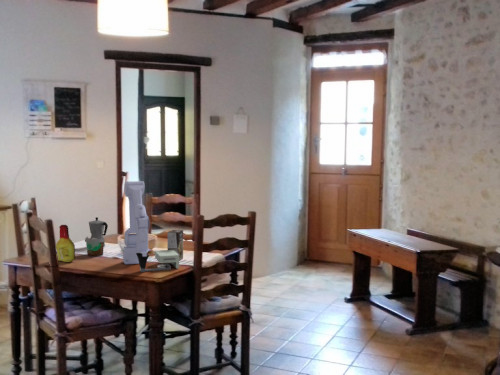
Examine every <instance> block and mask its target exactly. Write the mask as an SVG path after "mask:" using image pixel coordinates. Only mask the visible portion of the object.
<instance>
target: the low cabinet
mask: <svg viewBox="0 0 500 375" xmlns="http://www.w3.org/2000/svg"><path fill="white" fill-rule="evenodd" d="M154 258H155V259H156V261H157V262H158V263H159V264H165V263H170V264H171V266H173V268H175V269H180V261H179V255H178V254H177V253H176V252H175V251H174V250H168V249H163V250H154Z"/></svg>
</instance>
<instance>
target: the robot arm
mask: <svg viewBox="0 0 500 375" xmlns="http://www.w3.org/2000/svg"><path fill="white" fill-rule="evenodd" d="M145 185H146V184H145V182H144V181H143V180H137V181H135V180H134V181H133V180H131V181H130V180H129V181H127V180H125V182H124V196H125V197H126V198H128V206H129V207H128V209H129V210H128V211H129V215H128V216H129V228H128V229H126V230H125V232H124V239H123V240H124V242H123V243H124V245H125V246H123V247H122V248H123V253H122V254H123V255H122V256H123V257H122V261H123V263H124V265H134V264H137V265H139V268H140V267H141V269H144V268H145V267H147V261H148V259H149V257H150V255H149V254H148V252H151V251H152V249H151V248H149V229H150V219H149V215H147V212H146V211H147V210H146V206H145V205H144V204H143V194H144V192H145V189H146V187H145Z"/></svg>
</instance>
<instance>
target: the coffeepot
mask: <svg viewBox="0 0 500 375" xmlns="http://www.w3.org/2000/svg"><path fill="white" fill-rule="evenodd" d="M88 225H89V226H88V227H89V232H90V234H91V236H90V238H98V239H101V238H104V236H106V235H107V231H108V224H107V222H106V221H102V220H99V217H95V220H91V221H88ZM104 247H106V244H105V242H104Z"/></svg>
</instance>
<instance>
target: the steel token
mask: <svg viewBox="0 0 500 375" xmlns="http://www.w3.org/2000/svg"><path fill="white" fill-rule="evenodd" d="M156 267H157V268H168V267H167V265H165V264H158V265H157V266H156ZM157 268H156V269H157Z"/></svg>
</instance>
